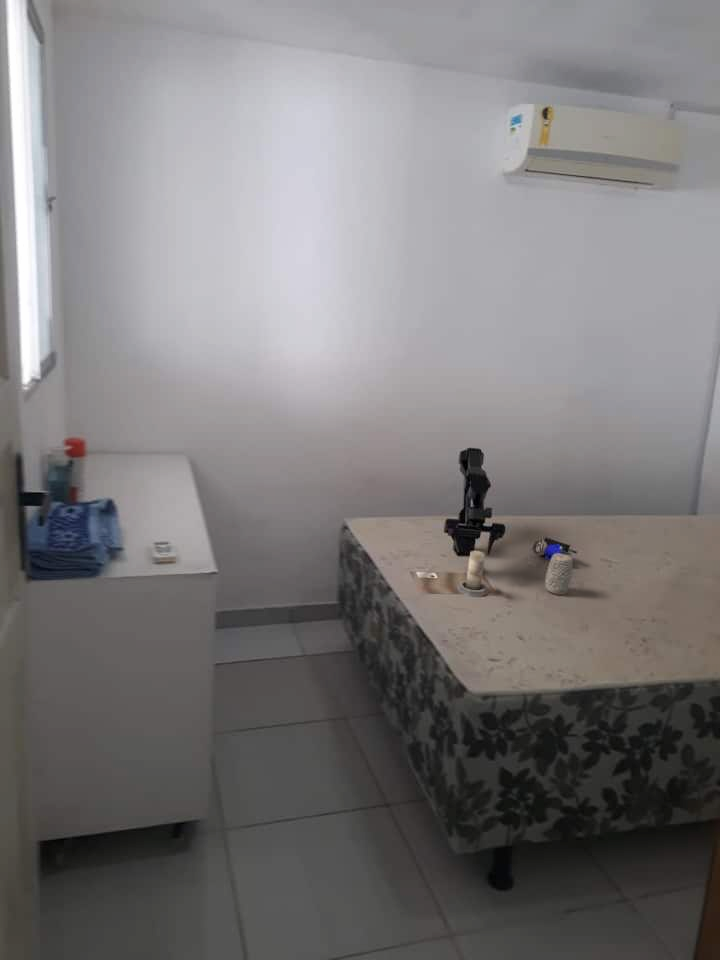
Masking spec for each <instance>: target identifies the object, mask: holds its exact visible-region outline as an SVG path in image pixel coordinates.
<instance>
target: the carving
mask: <svg viewBox="0 0 720 960" xmlns="http://www.w3.org/2000/svg"><path fill="white" fill-rule="evenodd" d="M573 562H574V559H573V558H572V557H571V555H568V554H567V555H565V554H560V553H556V554H554V555H553V556H552V557H551V559H550V562H549V563H548V568H547V571H546V575H545V581H544V582H545V583H544V586H545V588H546V590H547V591H549V592H550V593H551V594H554V595H559V596H563V595H565V594H566V592H567V590H568V588H569V585H570V583H571V581H572V580H571V579H572V575H573Z"/></svg>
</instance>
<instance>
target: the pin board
mask: <svg viewBox="0 0 720 960" xmlns="http://www.w3.org/2000/svg"><path fill="white" fill-rule="evenodd" d="M409 573H410V576H411V578H412V581H413V582H414V584H415V587H416V589H417V591H418V593H419V594H421V595H423V594H425V595H430V594H431V595H461V596H462V595H463V596H464V595H466V596H469V597H483V596H498V594H497V592H496V591H495V589H494V588H493V586H492V585H491V583H490V582H489V580H488V579H487V577H486V575H485V574H484V573H483V572H482V579H481V585H480V590H470V589H467V588H465V586H466V579H467V572H453V571H451V572H449V571H448V572H446V571H444V572H443V571H416V570H414V571H413V570H412V571H409Z"/></svg>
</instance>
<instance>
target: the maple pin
mask: <svg viewBox="0 0 720 960" xmlns="http://www.w3.org/2000/svg"><path fill="white" fill-rule="evenodd" d="M485 559H486V554H485V552H483V551H479V550H474V551H471V552H470V556H469V559H468V565H467V566H468V567H467V571H466V573H467V579H466V586H465V588H467V589H470V590H480V585H481V579H482V573H483V571H484V565H485V564H484V563H485Z"/></svg>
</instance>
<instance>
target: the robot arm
mask: <svg viewBox="0 0 720 960" xmlns="http://www.w3.org/2000/svg"><path fill="white" fill-rule="evenodd" d="M484 458H485V453H484V452H482V449H480V448H476V447H467V448H466V449H463V450H461V451H460V452H459V455H458V465H459V471H460V473H461V474H462V476H463V491H462V492H463V495H462V509H461V510H460V512H459V513H458V516H457V518H446V519H445V521H444V524H443V533H445V534H447V536H450V538H451V540H452V541H453V545H452V550H453V551H454V553H455V555H456V556H462V557H463V556H465V557H470V552H471V551H475V549H476V548H475V547H476V540H479V539H480V538H481V535H482V533H489V538H488V543H487V556H490V553H491V550H492V548H493V545H494V543H495V541H499V539H503V537H504V535H505V533H506V524H504V523H500V522H492V524H491V525H490V526H489V525H485V524H486V519H491V518H492V517H493V516H492V515H493V512H492V511H493V508H492V507H485V499H486V497H487V494H488V491H489V490H490V489H491V485H492V484H491V482H490V480H489V477H488V476H487V472H486V470H484V469H483V468H482V466H483V465H484V462H485V461H484V460H485V459H484Z"/></svg>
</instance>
